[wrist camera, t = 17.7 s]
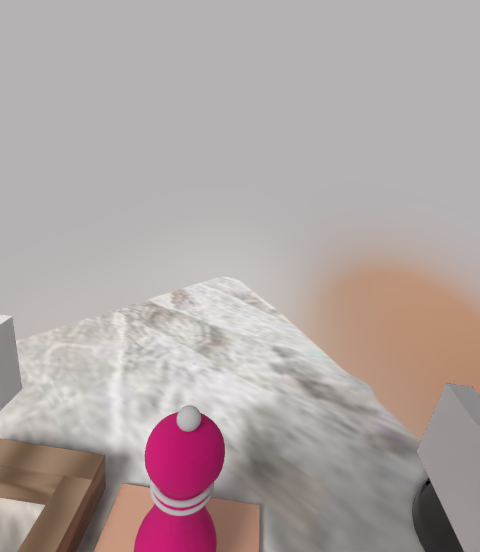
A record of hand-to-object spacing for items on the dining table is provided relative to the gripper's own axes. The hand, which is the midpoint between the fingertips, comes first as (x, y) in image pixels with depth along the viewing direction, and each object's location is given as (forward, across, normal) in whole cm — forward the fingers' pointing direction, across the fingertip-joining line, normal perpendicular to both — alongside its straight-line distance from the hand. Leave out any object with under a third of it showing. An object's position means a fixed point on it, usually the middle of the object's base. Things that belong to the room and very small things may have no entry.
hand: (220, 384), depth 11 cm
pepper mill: (+10, -3, -32) cm, 33 cm away
